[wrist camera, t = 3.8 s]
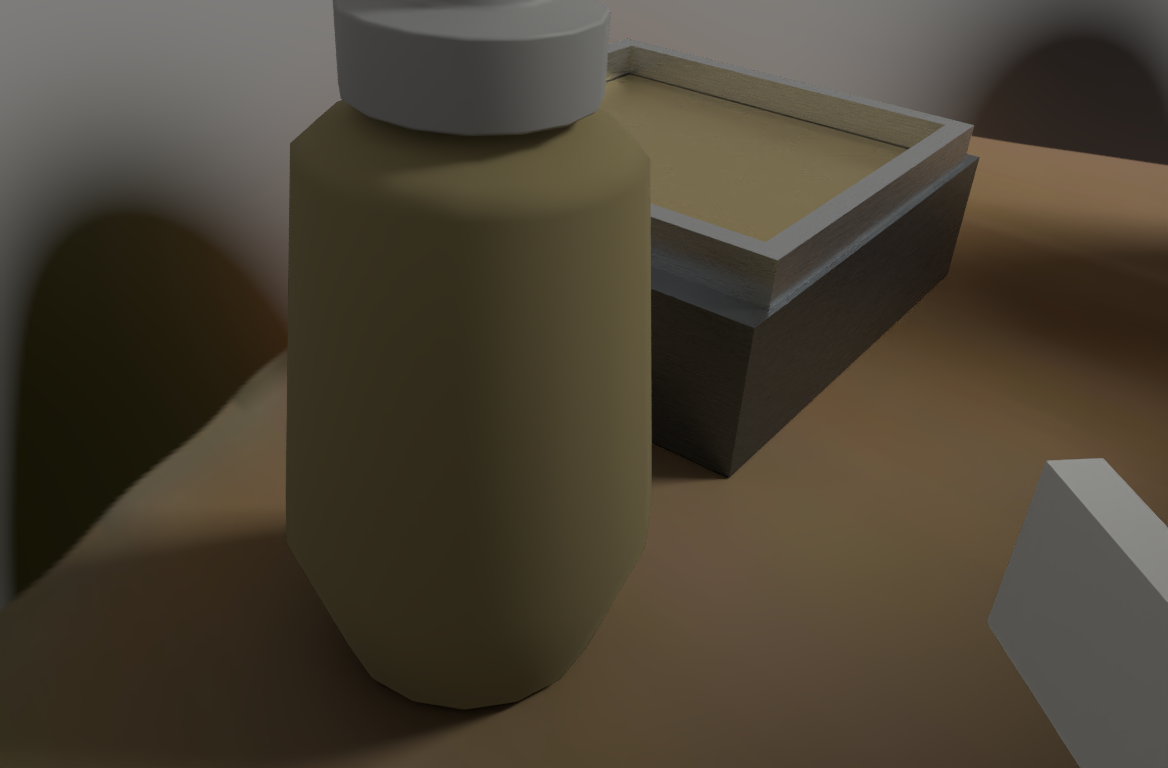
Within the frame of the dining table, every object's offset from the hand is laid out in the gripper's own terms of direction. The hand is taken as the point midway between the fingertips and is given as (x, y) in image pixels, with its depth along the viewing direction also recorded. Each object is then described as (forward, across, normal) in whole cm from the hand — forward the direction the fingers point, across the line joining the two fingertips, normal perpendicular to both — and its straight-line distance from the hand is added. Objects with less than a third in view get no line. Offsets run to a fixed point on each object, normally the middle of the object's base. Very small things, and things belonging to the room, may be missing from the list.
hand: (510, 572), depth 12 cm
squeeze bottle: (+9, 0, -10) cm, 14 cm away
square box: (+26, +9, -10) cm, 29 cm away
